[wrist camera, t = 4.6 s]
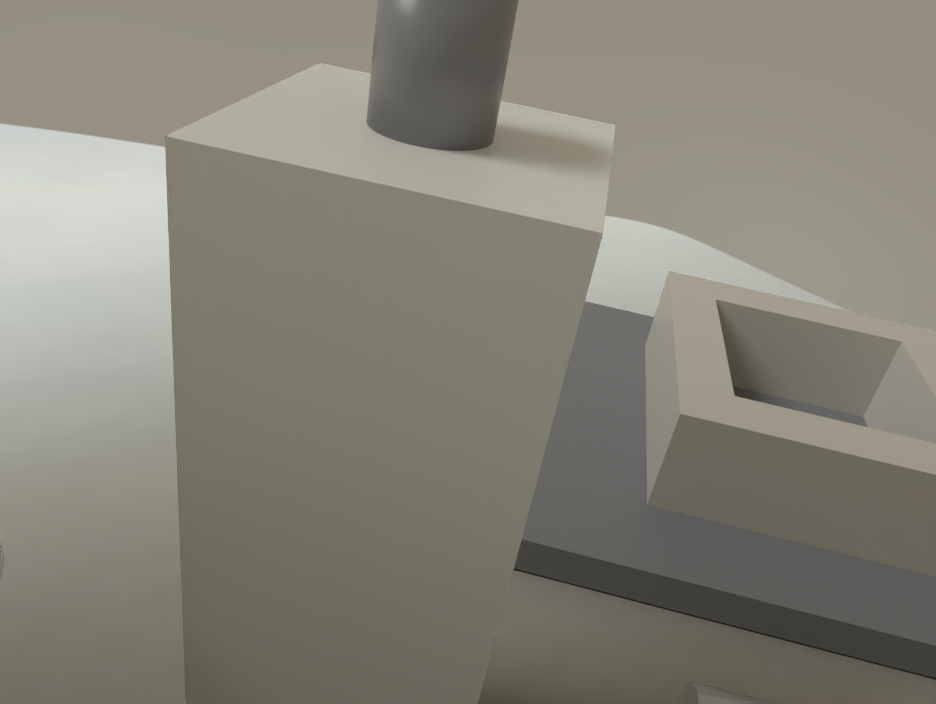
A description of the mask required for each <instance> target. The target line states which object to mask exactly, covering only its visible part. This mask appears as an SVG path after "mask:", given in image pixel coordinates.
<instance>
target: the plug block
mask: <svg viewBox="0 0 936 704" xmlns="http://www.w3.org/2000/svg"><path fill="white" fill-rule="evenodd" d="M517 5H518V0H378V3H377V13H376V25H375V35H374V45H373V56H372V68H371V74H370V73H365V72H361V71H356V70H351V69H346V68H341V67H337V66H332V65H327V64H322V63H319V64H317V65H314V66H313V67H310V68H308V69H306V70H304V71H302V72H300V73H298V74H295V75H293V76H291V77H289V78H287V79H285V80H283V81H281V82H278V83H277V84H274V85H272V86H270V87H268V88H266V89H264V90H262V91H259V92H257V93H255V94H253V95H251V96H249V97H247V98H245V99H242V100H240V101H238V102H236V103H234V104H232V105H230V106H228V107H225V108H224V109H221V110H219V111H217V112H215V113H213V114H211V115H209V116H206V117H204V118H202V119H200V120H198V121H196V122H194V123H192V124H190V125H187V126H185V127H183V128H181V129H179V130H177V131H175V132H173V133H170V134H168V135H166V136H165V149H166V177H167V204H168V231H169V259H170V286H171V313H172V341H173V368H174V396H175V423H176V450H177V478H178V505H179V532H180V560H181V587H182V615H183V642H184V669H185V697H186V704H478V702H479V698H480V695H481V691H482V687H483V683H484V679H485V676H486V672H487V668H488V664H489V661H490V657H491V653H492V649H493V646H494V642H495V638H496V634H497V630H498V627H499V623H500V619H501V615H502V612H503V608H504V604H505V600H506V597H507V593H508V589H509V585H510V581H511V578H512V574H513V570H514V566H515V563H516V559H517V555H518V551H519V547H520V544H521V540H522V536H523V532H524V529H525V525H526V521H527V517H528V514H529V510H530V506H531V502H532V498H533V495H534V491H535V487H536V483H537V480H538V476H539V472H540V468H541V465H542V461H543V457H544V453H545V449H546V446H547V442H548V438H549V434H550V431H551V427H552V423H553V419H554V416H555V412H556V408H557V404H558V400H559V397H560V393H561V389H562V385H563V382H564V378H565V374H566V370H567V366H568V363H569V359H570V355H571V351H572V348H573V344H574V340H575V336H576V333H577V329H578V325H579V321H580V317H581V314H582V310H583V306H584V302H585V299H586V295H587V291H588V287H589V284H590V280H591V276H592V272H593V268H594V265H595V261H596V257H597V253H598V250H599V246H600V242H601V238H602V235H603V228H604V219H605V210H606V202H607V193H608V184H609V176H610V166H611V158H612V149H613V141H614V133H615V125H613V124H608V123H603V122H598V121H594V120H589V119H584V118H579V117H575V116H570V115H565V114H560V113H556V112H551V111H546V110H541V109H536V108H532V107H527V106H522V105H518V104H513V103H508V102H503V101H501V96H502V89H503V84H504V79H505V73H506V67H507V62H508V56H509V51H510V45H511V40H512V34H513V28H514V22H515V17H516V11H517Z"/></svg>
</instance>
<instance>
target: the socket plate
mask: <svg viewBox="0 0 936 704" xmlns="http://www.w3.org/2000/svg"><path fill="white" fill-rule="evenodd" d="M514 569H517V570H521V571H525V572H529V573H533V574H537V575H540V576H544V577H548V578H552V579H556V580H560V581H563V582H567V583H571V584H575V585H579V586H583V587H587V588H590V589H594V590H598V591H602V592H606V593H610V594H613V595H617V596H621V597H625V598H629V599H633V600H637V601H640V602H644V603H648V604H652V605H656V606H660V607H663V608H667V609H671V610H675V611H679V612H683V613H687V614H690V615H694V616H698V617H702V618H706V619H710V620H713V621H717V622H721V623H725V624H729V625H733V626H737V627H740V628H744V629H748V630H752V631H756V632H760V633H763V634H767V635H771V636H775V637H779V638H783V639H787V640H790V641H794V642H798V643H802V644H806V645H810V646H813V647H817V648H821V649H825V650H829V651H833V652H836V653H840V654H844V655H848V656H852V657H856V658H860V659H863V660H867V661H871V662H875V663H879V664H883V665H886V666H890V667H894V668H898V669H902V670H906V671H910V672H913V673H917V674H921V675H925V676H929V677H933V678H936V332H935V331H933V330H928V329H923V328H919V327H914V326H910V325H905V324H901V323H897V322H892V321H888V320H883V319H879V318H875V317H870V316H865V315H861V314H857V313H852V312H848V311H843V310H839V309H835V308H830V307H826V306H821V305H817V304H812V303H808V302H803V301H799V300H794V299H790V298H786V297H781V296H777V295H772V294H768V293H763V292H759V291H754V290H750V289H745V288H741V287H737V286H732V285H728V284H723V283H719V282H714V281H710V280H705V279H701V278H697V277H692V276H688V275H683V274H679V273H674V272H670V271H669V272H668V276H667V279H666V282H665V285H664V288H663V291H662V294H661V297H660V301H659V304H658V307H657V310H656V313H655V316H654V317H650V316H646V315H642V314H637V313H633V312H629V311H624V310H620V309H616V308H611V307H607V306H602V305H598V304H594V303H589V302H584V306H583V310H582V314H581V317H580V321H579V325H578V329H577V333H576V336H575V340H574V344H573V348H572V351H571V355H570V359H569V363H568V366H567V370H566V374H565V378H564V382H563V385H562V389H561V393H560V397H559V400H558V404H557V408H556V412H555V416H554V419H553V423H552V427H551V431H550V434H549V438H548V442H547V446H546V449H545V453H544V457H543V461H542V465H541V468H540V472H539V476H538V480H537V483H536V487H535V491H534V495H533V498H532V502H531V506H530V510H529V514H528V517H527V521H526V525H525V529H524V532H523V536H522V540H521V544H520V547H519V551H518V555H517V559H516V563H515V566H514Z"/></svg>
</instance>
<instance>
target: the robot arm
mask: <svg viewBox="0 0 936 704" xmlns="http://www.w3.org/2000/svg"><path fill="white" fill-rule="evenodd" d="M3 564H4V556H3V550H2V545H1V543H0V580H1V577H2V570H3ZM677 704H776V703H772V702H768V701H764V700H760V699H756V698H752V697H748V696H745V695H741V694H737V693H733V692H729V691H725V690H721V689H717V688H713V687H710V686H706V685H702V684H698V683H694V682H691V683H690V684H688V685H687V686H686V687H685V688H684V690H683V692H682V694H681V696H680V698H679V700H678V702H677Z"/></svg>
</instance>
